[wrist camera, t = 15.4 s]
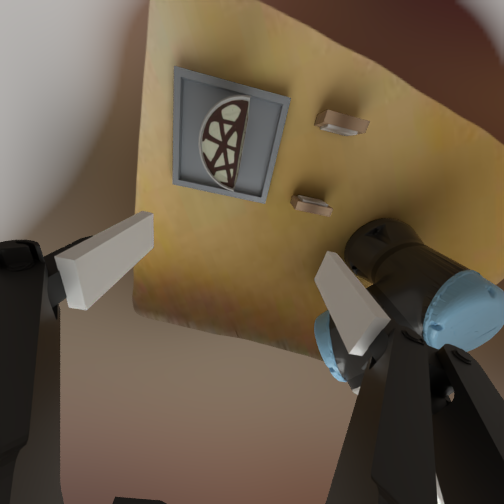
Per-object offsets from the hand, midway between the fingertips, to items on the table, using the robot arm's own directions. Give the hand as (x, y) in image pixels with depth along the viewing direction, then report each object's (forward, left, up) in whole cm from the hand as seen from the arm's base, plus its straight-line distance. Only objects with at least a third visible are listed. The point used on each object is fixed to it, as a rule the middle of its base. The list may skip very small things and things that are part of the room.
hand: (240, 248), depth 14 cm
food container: (+5, -6, -27) cm, 28 cm away
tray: (+5, -6, -28) cm, 29 cm away
